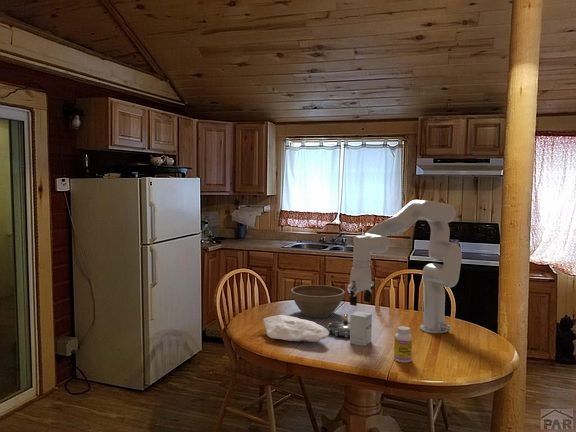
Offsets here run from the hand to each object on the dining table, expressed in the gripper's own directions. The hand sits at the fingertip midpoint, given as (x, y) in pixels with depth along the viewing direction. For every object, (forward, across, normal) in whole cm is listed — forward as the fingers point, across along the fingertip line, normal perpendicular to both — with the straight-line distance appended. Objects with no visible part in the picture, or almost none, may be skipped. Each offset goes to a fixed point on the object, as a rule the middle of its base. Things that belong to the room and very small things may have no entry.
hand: (360, 303), depth 204 cm
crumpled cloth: (+18, +16, -23) cm, 33 cm away
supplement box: (+18, -1, 0) cm, 18 cm away
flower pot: (+17, -19, -43) cm, 50 cm away
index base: (+17, -6, -18) cm, 25 cm away
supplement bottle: (+17, +3, +24) cm, 30 cm away
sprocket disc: (+17, -6, -13) cm, 22 cm away
